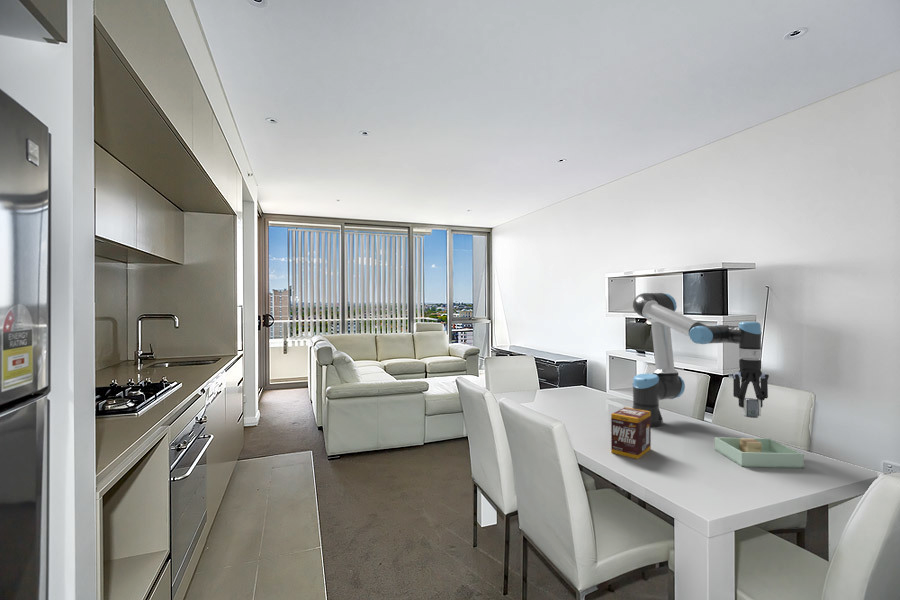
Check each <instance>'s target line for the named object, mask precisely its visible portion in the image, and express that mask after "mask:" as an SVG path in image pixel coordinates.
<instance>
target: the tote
mask: <svg viewBox="0 0 900 600" xmlns="http://www.w3.org/2000/svg"><path fill="white" fill-rule="evenodd" d="M740 438H741V437H721V436H719V437H717V436H716V437H714V451H716V452H718V453H720V454H721V455H723V456H724V457H726V458H728V459H729V460H730V461H732V462H734V464H735V463H736V464H737V465H738V466H739V467H743V468H745V467H746V468H751V467H752V468H781V469H783V468H784V469H785V468H787V469H804V467H805V466H804V465H805V463H804V462H805V461H804V460H805V459H804V458H805V457H804V456H805V454H804V453H802V452H800V451H797V450H795V449H793V448H791V447H790V446H787V445H785V444H783V443H781V442H778V441H776V440H774V439H772V438H768V437H767V438H764V437H762V438H761V437H759V438H758V437H755V438H753V437H743V438H744V439H755V440H757V441H759V442H761V444H762V453H757V452H741V451H740Z"/></svg>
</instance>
